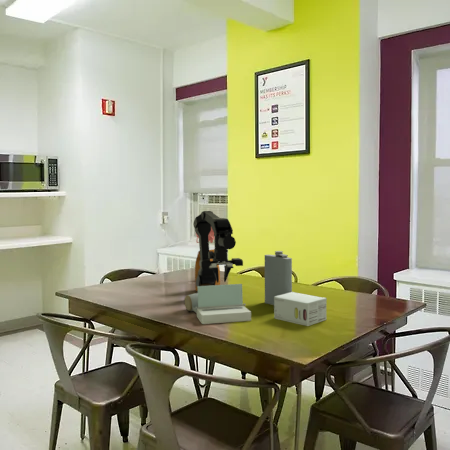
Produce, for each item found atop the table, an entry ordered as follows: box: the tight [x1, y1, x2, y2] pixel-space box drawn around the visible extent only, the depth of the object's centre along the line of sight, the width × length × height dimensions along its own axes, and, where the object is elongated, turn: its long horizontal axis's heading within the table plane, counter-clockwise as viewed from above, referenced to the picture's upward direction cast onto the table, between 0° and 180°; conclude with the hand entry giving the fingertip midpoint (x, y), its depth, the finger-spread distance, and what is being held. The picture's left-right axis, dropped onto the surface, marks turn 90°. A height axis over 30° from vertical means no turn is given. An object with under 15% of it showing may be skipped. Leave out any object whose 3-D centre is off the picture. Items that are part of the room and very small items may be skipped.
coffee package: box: [194, 248, 221, 292], centre depth 246 cm, size 10×12×22 cm
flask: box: [264, 250, 293, 306], centre depth 212 cm, size 17×5×25 cm, turn 31°
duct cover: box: [197, 283, 244, 309], centre depth 195 cm, size 19×9×1 cm
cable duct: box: [195, 303, 252, 325], centre depth 191 cm, size 21×12×4 cm, turn 104°
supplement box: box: [273, 291, 327, 327], centre depth 189 cm, size 17×13×9 cm
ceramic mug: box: [184, 292, 198, 314], centre depth 204 cm, size 11×8×8 cm
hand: (221, 282), depth 207 cm, fingers open, 3 cm apart
